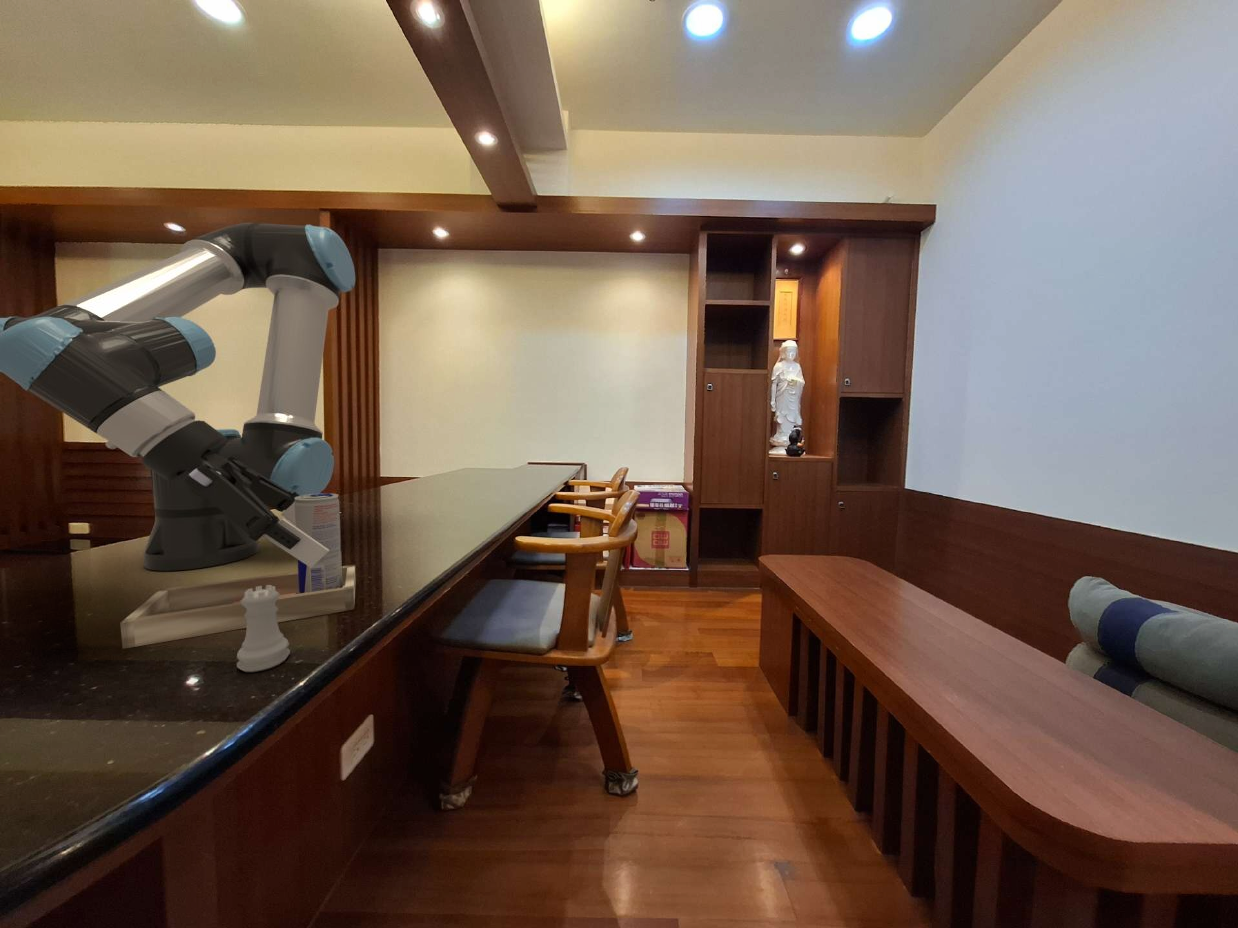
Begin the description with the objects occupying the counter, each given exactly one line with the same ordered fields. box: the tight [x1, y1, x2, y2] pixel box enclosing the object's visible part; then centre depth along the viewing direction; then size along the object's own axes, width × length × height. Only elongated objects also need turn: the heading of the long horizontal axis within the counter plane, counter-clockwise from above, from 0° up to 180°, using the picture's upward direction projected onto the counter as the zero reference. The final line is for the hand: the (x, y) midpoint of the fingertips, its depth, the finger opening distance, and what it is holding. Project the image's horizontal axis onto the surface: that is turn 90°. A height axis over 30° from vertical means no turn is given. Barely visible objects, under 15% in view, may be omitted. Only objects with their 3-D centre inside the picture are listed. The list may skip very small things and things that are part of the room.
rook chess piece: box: [236, 585, 291, 673], centre depth 46 cm, size 4×4×8 cm
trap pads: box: [231, 593, 296, 604], centre depth 58 cm, size 8×7×1 cm
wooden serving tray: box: [120, 564, 357, 650], centre depth 58 cm, size 11×22×3 cm, turn 120°
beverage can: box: [295, 493, 343, 594], centre depth 61 cm, size 5×5×15 cm
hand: (324, 545), depth 61 cm, fingers open, 13 cm apart
